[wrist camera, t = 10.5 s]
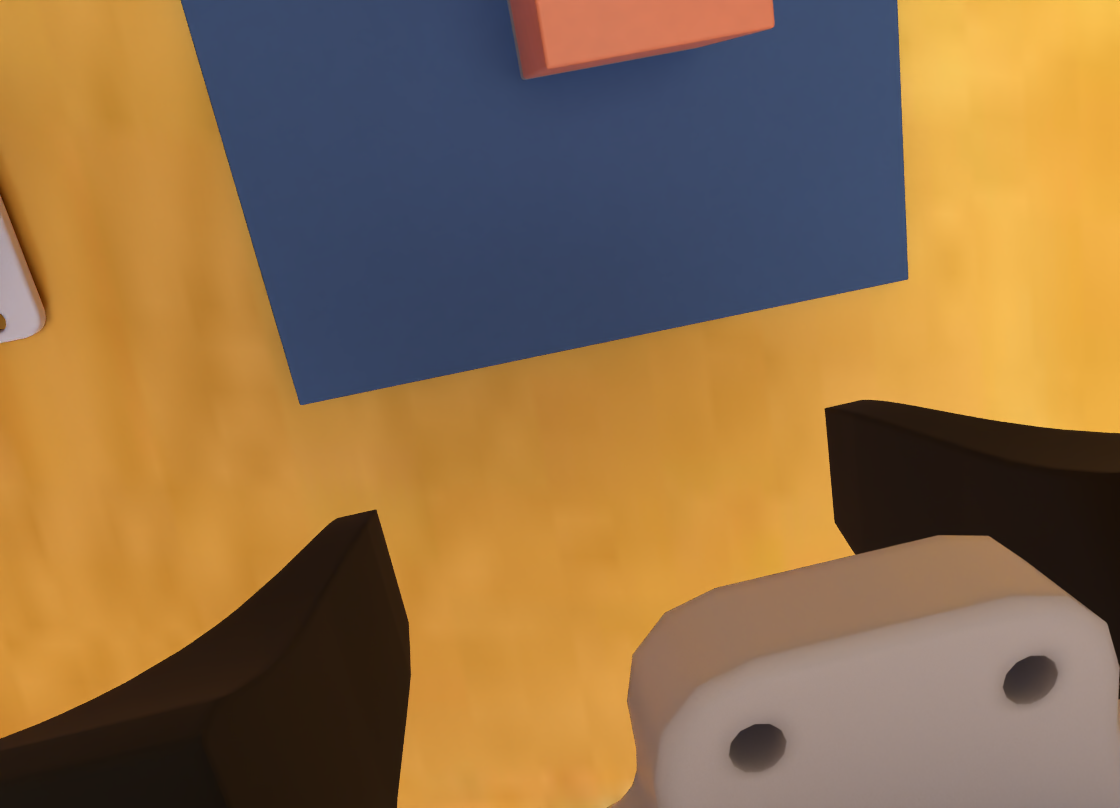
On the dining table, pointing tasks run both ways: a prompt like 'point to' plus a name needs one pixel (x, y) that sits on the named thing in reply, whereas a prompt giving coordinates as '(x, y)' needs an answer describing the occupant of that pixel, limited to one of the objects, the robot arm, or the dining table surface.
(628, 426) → the dining table surface
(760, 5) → the orange rectangular block
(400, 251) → the cloth
